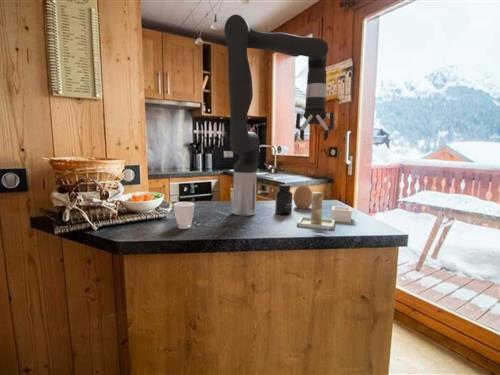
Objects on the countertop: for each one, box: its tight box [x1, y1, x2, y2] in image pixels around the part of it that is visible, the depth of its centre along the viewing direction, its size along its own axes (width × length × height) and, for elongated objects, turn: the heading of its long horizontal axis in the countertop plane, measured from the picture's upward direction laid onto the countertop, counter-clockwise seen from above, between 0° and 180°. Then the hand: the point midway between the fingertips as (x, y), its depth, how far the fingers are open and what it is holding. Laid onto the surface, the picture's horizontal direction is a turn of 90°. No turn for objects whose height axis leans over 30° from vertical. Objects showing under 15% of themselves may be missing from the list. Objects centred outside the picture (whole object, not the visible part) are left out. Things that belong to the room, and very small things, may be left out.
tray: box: [296, 216, 336, 231], centre depth 103 cm, size 12×10×2 cm
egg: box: [292, 183, 312, 210], centre depth 129 cm, size 8×8×11 cm
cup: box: [172, 201, 196, 230], centre depth 101 cm, size 7×10×8 cm
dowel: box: [310, 191, 324, 225], centre depth 102 cm, size 4×4×11 cm
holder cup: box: [330, 205, 353, 223], centre depth 111 cm, size 7×7×5 cm
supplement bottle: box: [274, 183, 293, 216], centre depth 121 cm, size 7×7×12 cm
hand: (313, 140), depth 114 cm, fingers open, 8 cm apart
